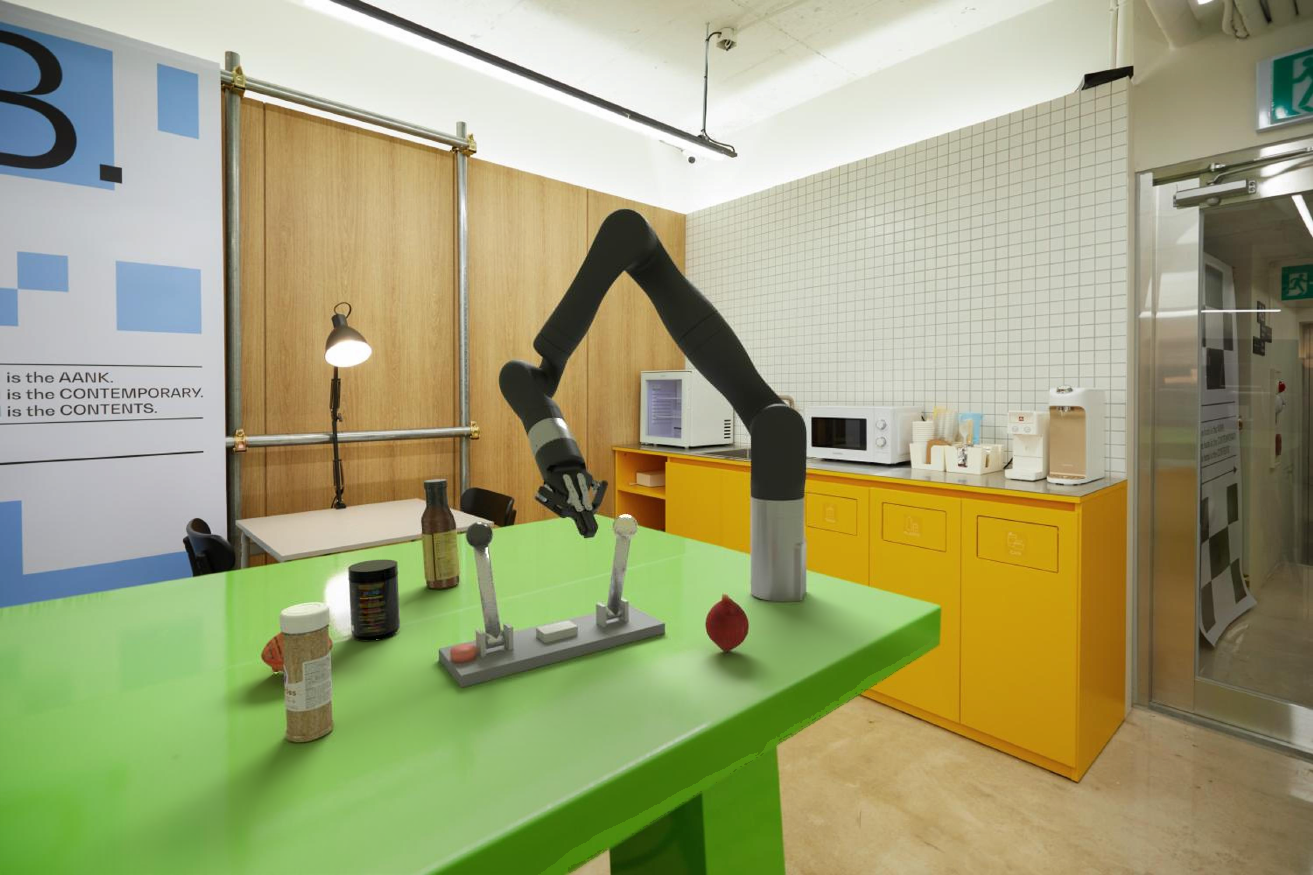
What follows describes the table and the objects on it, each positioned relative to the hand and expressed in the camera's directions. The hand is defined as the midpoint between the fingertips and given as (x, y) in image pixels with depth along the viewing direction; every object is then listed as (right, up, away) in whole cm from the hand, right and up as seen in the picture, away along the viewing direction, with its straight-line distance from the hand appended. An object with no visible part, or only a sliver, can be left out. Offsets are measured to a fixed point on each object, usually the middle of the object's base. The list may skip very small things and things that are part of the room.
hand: (591, 534), depth 98 cm
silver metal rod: (-11, -12, -14) cm, 22 cm away
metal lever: (+4, -11, -4) cm, 12 cm away
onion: (+20, -14, -12) cm, 27 cm away
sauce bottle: (-30, -13, +20) cm, 38 cm away
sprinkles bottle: (-26, -16, -31) cm, 44 cm away
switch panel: (-4, -14, -9) cm, 17 cm away
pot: (-36, -15, -17) cm, 43 cm away
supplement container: (-32, -14, -4) cm, 35 cm away
